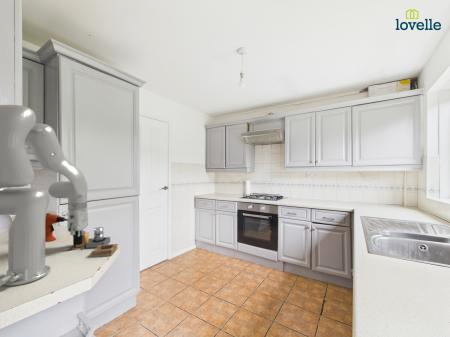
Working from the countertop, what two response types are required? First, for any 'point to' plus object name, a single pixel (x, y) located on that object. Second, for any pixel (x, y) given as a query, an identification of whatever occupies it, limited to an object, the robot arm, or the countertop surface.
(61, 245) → the countertop surface
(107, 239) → the socket
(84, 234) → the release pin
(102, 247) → the wooden square tray
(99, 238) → the silver metal cylinder
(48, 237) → the toy drill
